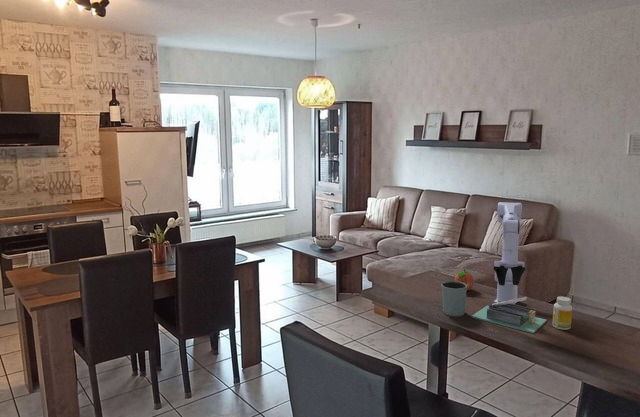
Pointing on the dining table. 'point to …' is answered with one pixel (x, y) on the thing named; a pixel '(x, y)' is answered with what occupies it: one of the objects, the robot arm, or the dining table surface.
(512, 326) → the circuit board
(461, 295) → the green cup
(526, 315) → the heat sink
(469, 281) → the fruit
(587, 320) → the dining table surface
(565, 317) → the supplement bottle
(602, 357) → the dining table surface
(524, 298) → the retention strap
